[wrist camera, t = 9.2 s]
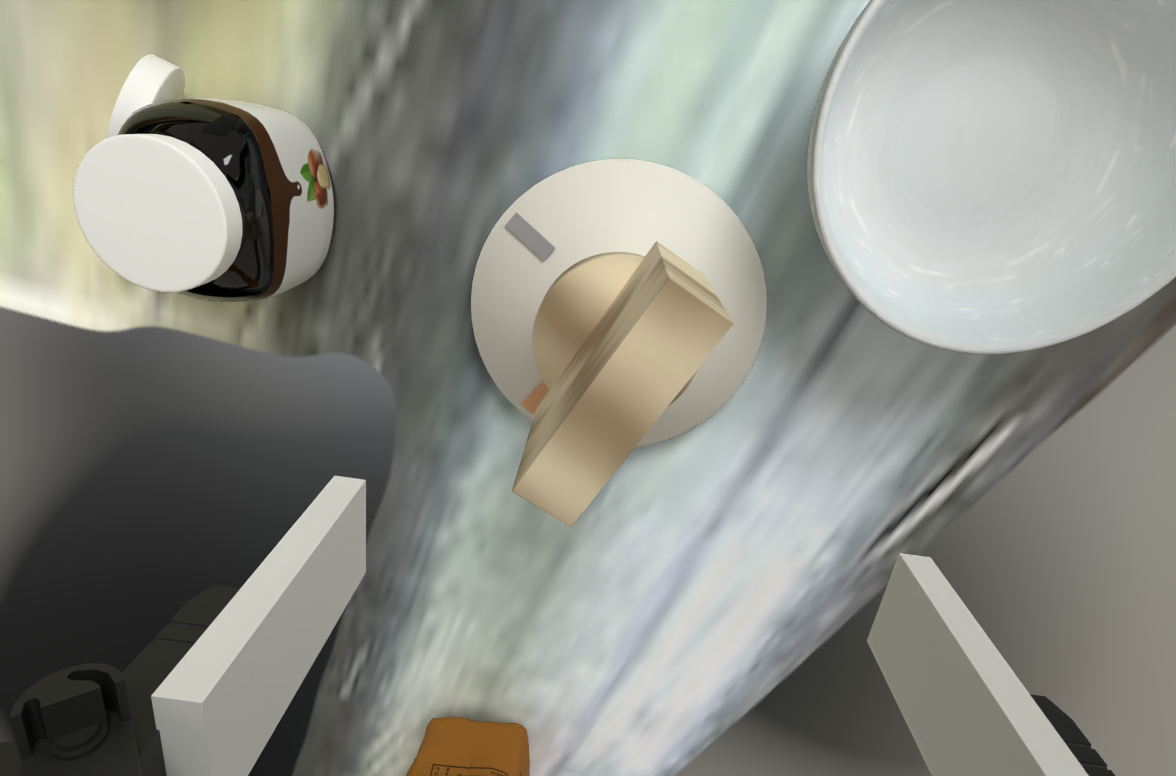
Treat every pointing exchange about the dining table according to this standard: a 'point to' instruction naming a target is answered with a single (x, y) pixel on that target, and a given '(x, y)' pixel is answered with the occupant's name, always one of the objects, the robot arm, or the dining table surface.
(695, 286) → the lever handle
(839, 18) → the dining table surface
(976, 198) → the serving bowl
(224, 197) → the spread jar
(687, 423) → the dial plate
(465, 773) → the coffee package
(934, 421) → the dining table surface
